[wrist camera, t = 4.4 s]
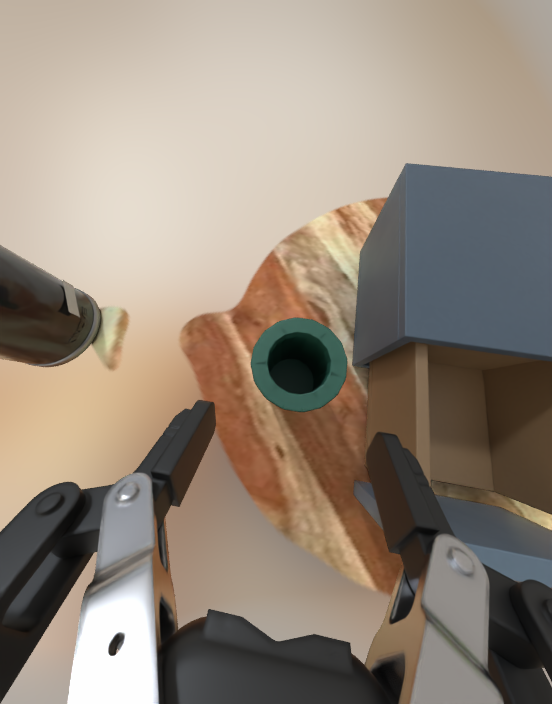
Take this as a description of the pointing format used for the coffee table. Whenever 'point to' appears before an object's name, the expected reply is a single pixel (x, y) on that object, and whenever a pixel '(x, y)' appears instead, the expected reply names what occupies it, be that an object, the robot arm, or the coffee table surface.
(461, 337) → the cabinet
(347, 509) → the coffee table surface
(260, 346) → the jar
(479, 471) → the drawer
